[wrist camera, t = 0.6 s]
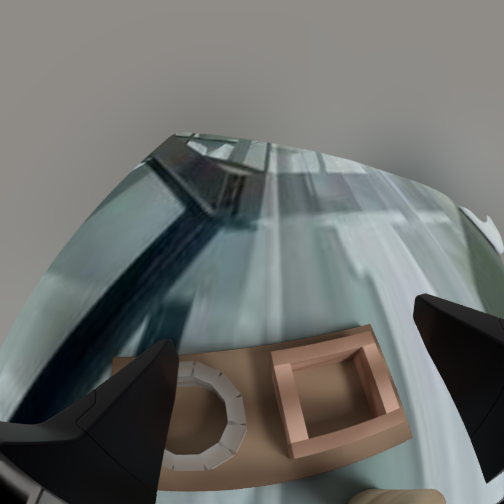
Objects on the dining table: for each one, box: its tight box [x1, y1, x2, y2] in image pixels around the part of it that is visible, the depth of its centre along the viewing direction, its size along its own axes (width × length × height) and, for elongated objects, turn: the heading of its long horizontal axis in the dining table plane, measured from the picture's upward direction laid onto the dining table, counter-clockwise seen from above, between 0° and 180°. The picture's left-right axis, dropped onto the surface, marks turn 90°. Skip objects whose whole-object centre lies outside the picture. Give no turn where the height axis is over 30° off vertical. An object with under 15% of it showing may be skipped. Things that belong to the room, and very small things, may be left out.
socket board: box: [112, 324, 413, 491], centre depth 17 cm, size 12×24×4 cm, turn 99°
